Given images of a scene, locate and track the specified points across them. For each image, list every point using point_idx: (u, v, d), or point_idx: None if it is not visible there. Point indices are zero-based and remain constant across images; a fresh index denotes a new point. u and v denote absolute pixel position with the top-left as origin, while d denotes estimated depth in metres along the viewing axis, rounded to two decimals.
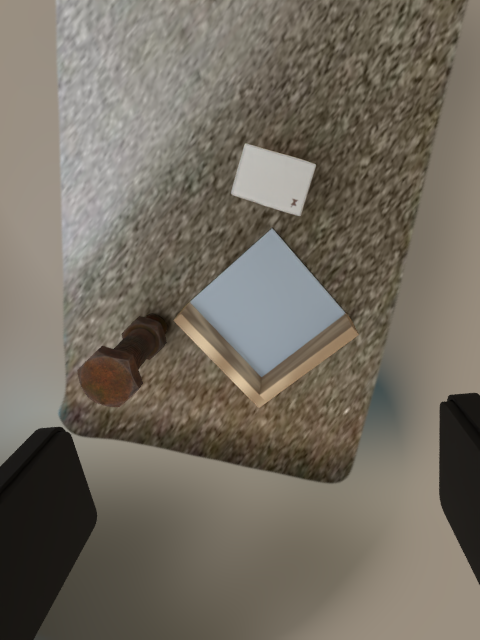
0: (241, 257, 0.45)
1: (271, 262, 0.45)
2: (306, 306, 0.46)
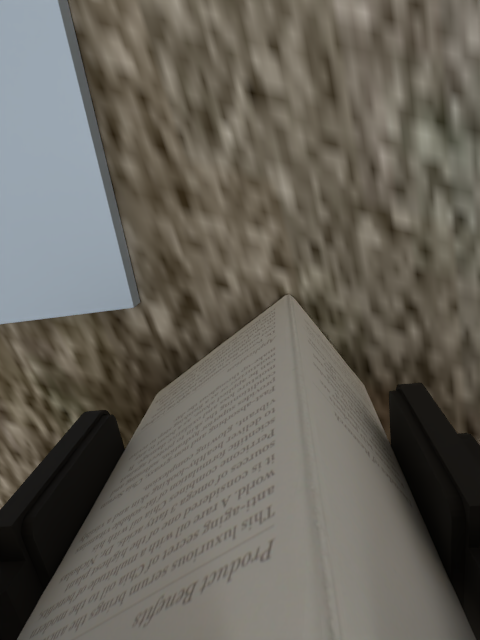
0: (89, 147, 0.11)
1: (26, 239, 0.12)
2: None
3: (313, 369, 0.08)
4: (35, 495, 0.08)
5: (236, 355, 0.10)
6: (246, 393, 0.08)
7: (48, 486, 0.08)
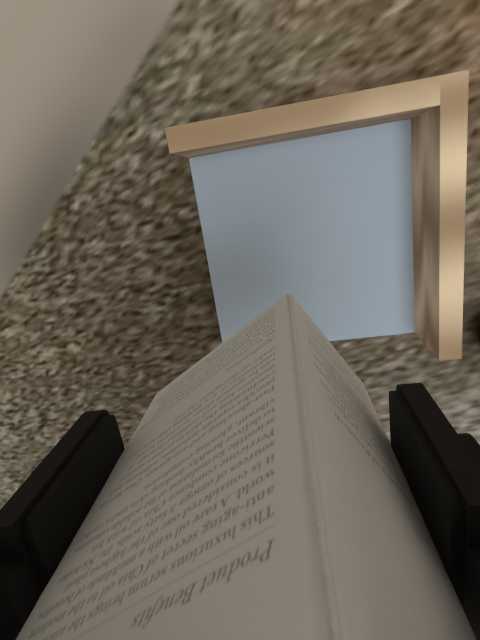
0: None
1: (253, 310, 0.27)
2: (243, 210, 0.25)
3: (313, 368, 0.08)
4: (36, 495, 0.08)
5: (236, 355, 0.10)
6: (246, 393, 0.08)
7: (48, 486, 0.08)
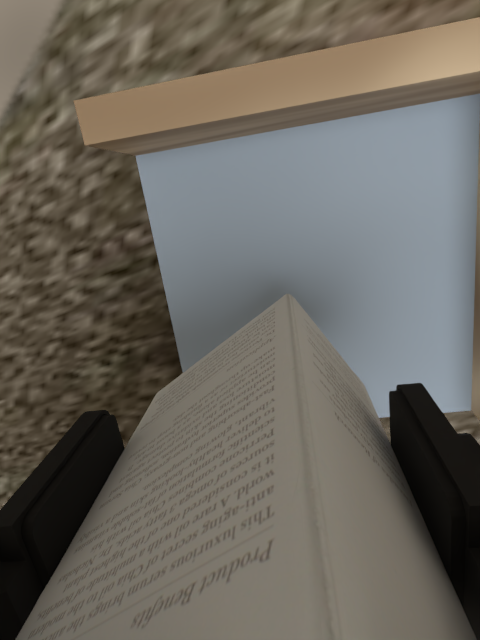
0: None
1: None
2: (218, 234, 0.17)
3: (313, 368, 0.08)
4: (35, 495, 0.08)
5: (236, 354, 0.10)
6: (246, 392, 0.08)
7: (48, 486, 0.08)
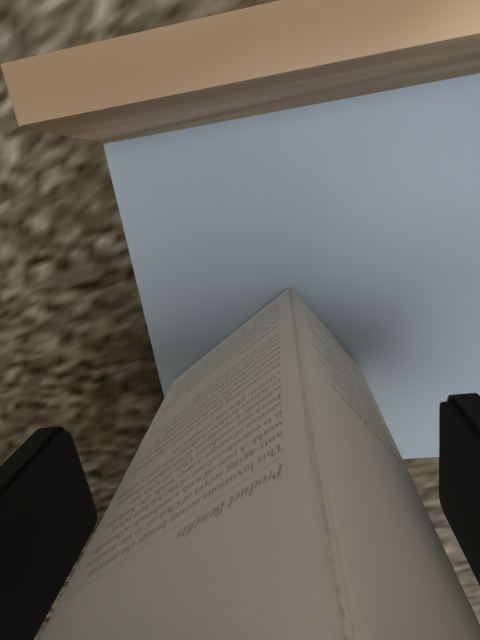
0: None
1: None
2: (206, 241, 0.14)
3: (312, 349, 0.09)
4: None
5: (245, 342, 0.12)
6: (256, 370, 0.09)
7: None
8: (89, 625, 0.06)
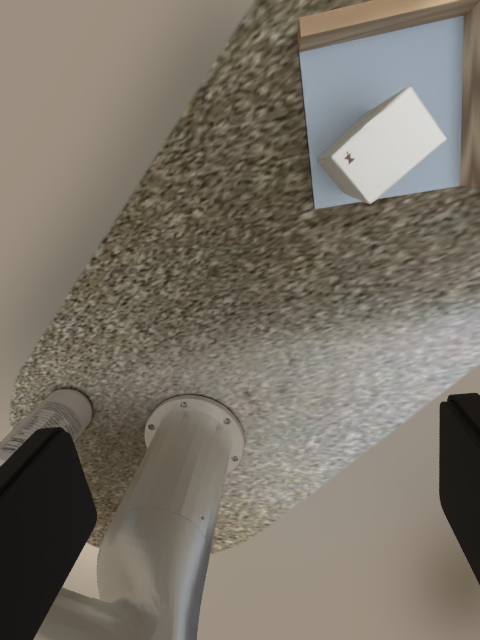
0: None
1: None
2: (336, 92, 0.34)
3: None
4: None
5: (357, 122, 0.33)
6: (369, 113, 0.30)
7: None
8: (346, 138, 0.27)
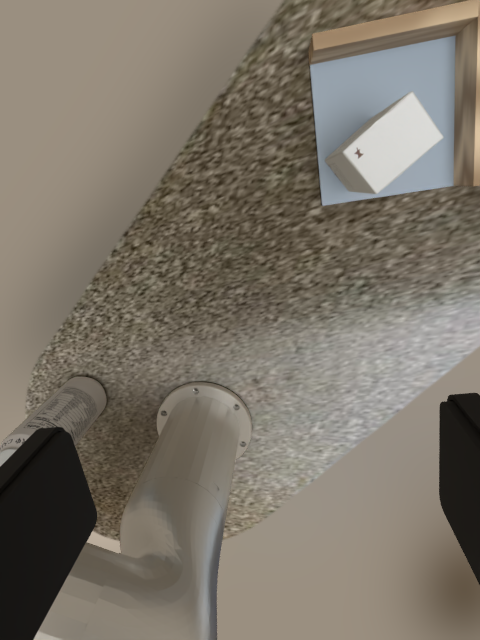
0: (368, 197, 0.41)
1: None
2: (343, 100, 0.38)
3: None
4: None
5: (361, 126, 0.37)
6: (373, 118, 0.34)
7: None
8: (355, 137, 0.31)
